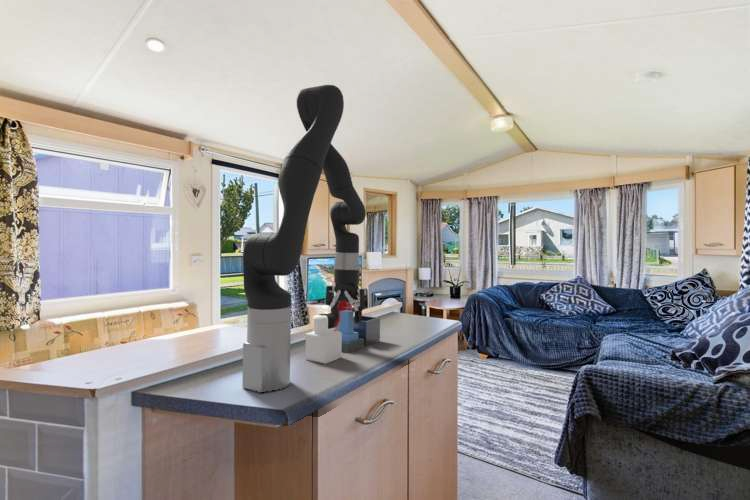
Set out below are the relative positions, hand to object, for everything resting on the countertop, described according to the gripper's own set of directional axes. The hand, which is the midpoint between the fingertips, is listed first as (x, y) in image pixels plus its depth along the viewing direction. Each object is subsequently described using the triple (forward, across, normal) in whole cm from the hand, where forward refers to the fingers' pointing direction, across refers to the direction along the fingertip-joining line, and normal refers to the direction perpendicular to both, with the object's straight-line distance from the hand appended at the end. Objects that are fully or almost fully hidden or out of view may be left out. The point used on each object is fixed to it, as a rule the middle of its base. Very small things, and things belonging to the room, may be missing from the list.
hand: (346, 321), depth 116 cm
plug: (+7, 0, 0) cm, 7 cm away
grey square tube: (+8, 0, +9) cm, 12 cm away
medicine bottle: (+8, +2, -12) cm, 15 cm away
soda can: (+8, -15, +18) cm, 24 cm away
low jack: (+8, 0, 0) cm, 8 cm away
